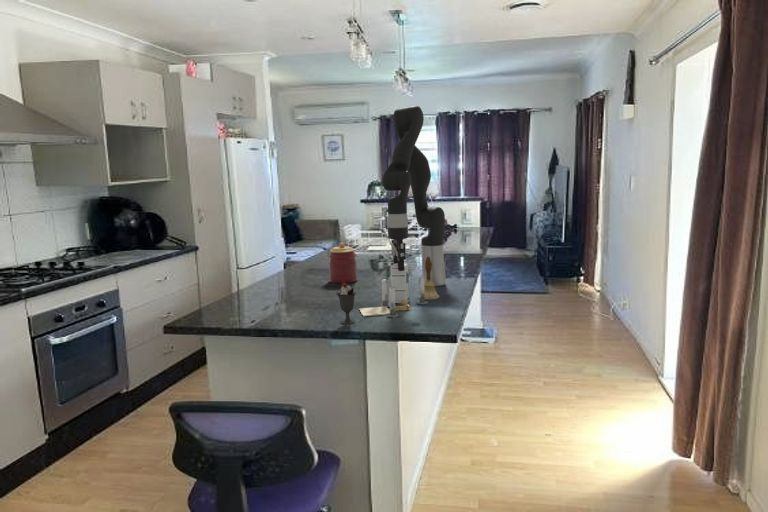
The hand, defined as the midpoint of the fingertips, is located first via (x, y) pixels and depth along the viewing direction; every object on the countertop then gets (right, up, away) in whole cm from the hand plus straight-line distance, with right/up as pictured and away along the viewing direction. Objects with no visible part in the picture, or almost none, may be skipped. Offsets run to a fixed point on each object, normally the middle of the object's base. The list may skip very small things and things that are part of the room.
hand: (398, 268), depth 213 cm
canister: (-24, -7, +46) cm, 52 cm away
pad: (-9, -15, -12) cm, 21 cm away
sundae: (-18, -18, -23) cm, 34 cm away
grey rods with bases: (+3, -14, -10) cm, 17 cm away
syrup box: (+1, -13, +2) cm, 13 cm away
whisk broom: (+12, -11, +8) cm, 18 cm away
